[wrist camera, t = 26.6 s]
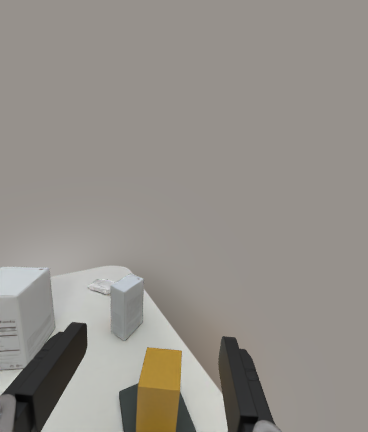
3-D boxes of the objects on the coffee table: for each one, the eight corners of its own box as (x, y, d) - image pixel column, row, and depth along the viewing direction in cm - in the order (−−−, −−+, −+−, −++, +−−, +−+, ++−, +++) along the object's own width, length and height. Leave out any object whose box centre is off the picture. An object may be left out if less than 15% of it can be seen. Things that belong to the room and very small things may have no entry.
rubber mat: (207, 465, 23) (207, 460, 23) (135, 521, 19) (135, 515, 19) (170, 372, 33) (170, 368, 33) (119, 396, 29) (119, 391, 29)
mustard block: (173, 449, 24) (180, 390, 21) (135, 445, 24) (137, 386, 21) (176, 402, 28) (181, 350, 26) (144, 399, 28) (147, 347, 26)
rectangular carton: (11, 328, 39) (2, 265, 36) (56, 327, 41) (51, 266, 37) (-32, 373, 31) (-50, 295, 27) (27, 370, 32) (17, 295, 28)
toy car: (108, 296, 52) (108, 289, 51) (86, 289, 54) (86, 282, 53) (119, 287, 56) (119, 281, 55) (98, 281, 58) (97, 274, 58)
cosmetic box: (129, 315, 46) (130, 272, 43) (142, 322, 44) (144, 278, 41) (109, 332, 40) (109, 285, 38) (124, 342, 39) (124, 292, 36)
